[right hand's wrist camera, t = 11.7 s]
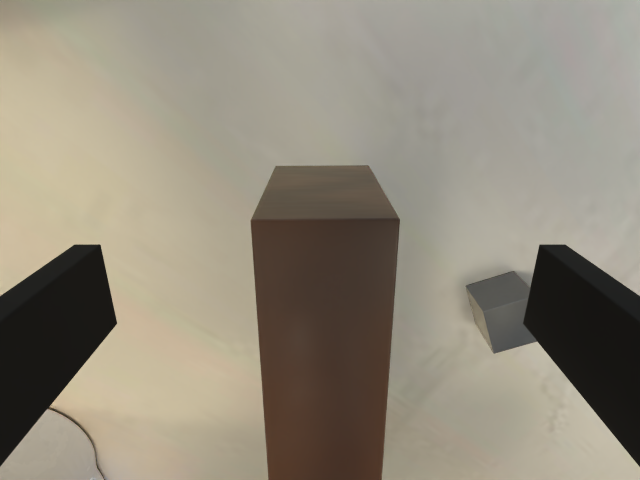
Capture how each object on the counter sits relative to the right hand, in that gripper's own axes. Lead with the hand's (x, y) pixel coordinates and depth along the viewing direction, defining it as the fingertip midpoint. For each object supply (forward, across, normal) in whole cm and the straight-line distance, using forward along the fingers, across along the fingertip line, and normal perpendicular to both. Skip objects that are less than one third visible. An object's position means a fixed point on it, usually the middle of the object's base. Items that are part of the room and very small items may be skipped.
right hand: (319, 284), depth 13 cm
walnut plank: (+8, 0, -11) cm, 14 cm away
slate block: (+26, +18, -16) cm, 36 cm away
